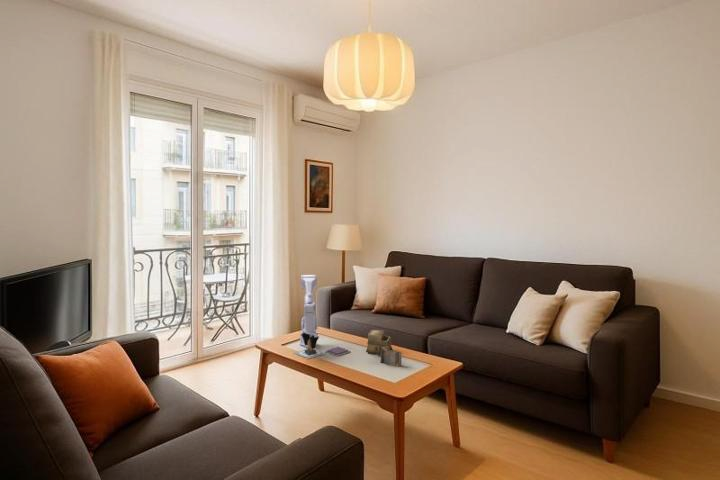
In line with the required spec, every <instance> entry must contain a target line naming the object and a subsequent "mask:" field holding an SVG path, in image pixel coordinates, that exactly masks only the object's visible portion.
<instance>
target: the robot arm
mask: <svg viewBox="0 0 720 480" xmlns="http://www.w3.org/2000/svg"><path fill="white" fill-rule="evenodd" d="M300 280H301V281H300V283H301V285H300V286H301V289H302V290H303V289H304V291H305V294H304V305H303V313H304V314H303V315H304V316H302V318H301V332H300V334H299V335H300V336H299V341H300V343H299V345H300V346H302V347H306V348H308V340H310V342H311V348H312V349H316V347H317V346H318V345H319V344H318V343H317V342H318V340H319V339H320V336H319V333H318V332H317V330H318V318H317V317H316V316H315V314H316V303H315V294H314V293H313V291H314V289H316V288H317V284H318V283H317V282H318V278H317V274H301V278H300Z"/></svg>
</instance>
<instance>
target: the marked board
mask: <svg viewBox="0 0 720 480" xmlns="http://www.w3.org/2000/svg"><path fill="white" fill-rule="evenodd" d="M313 349H314V350H316V353H315V354H311V355H308V354H306V353H305V350H308V348H306V349H303V350H299V351H295V352H294V353H293V354H294V355H297V356H300V357H302V358H305V359H307V360H310V359H314V358H316V357H319V356H324V355H326V354H327V353H325V351H321V350H318V349H316V348H313Z"/></svg>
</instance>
